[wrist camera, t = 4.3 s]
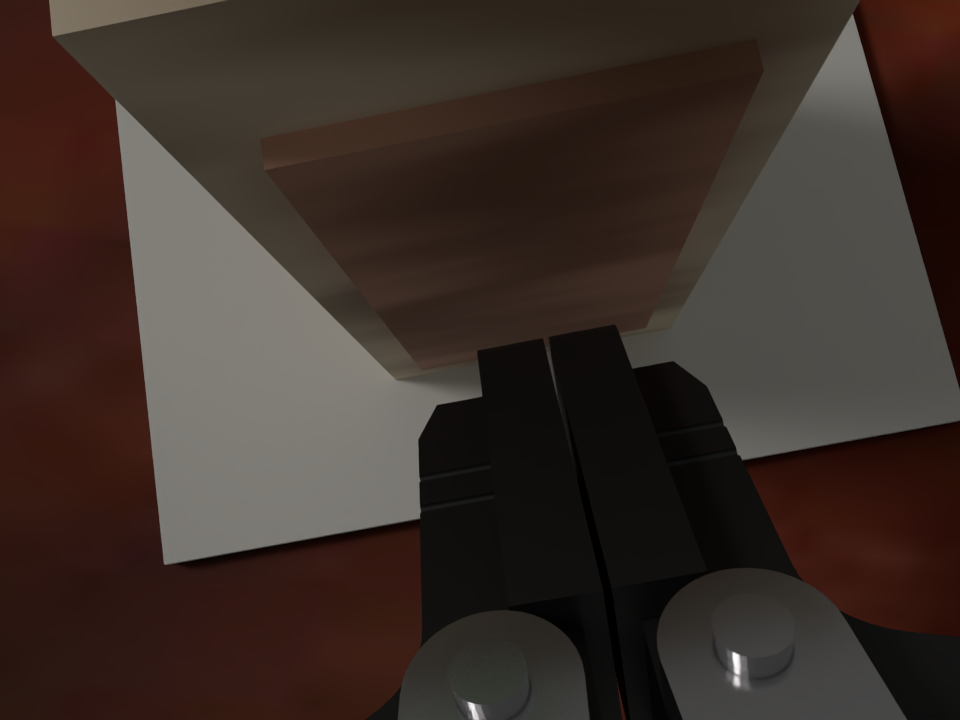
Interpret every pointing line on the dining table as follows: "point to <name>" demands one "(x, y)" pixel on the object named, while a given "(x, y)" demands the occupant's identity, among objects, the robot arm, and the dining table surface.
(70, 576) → the dining table surface
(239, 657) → the dining table surface
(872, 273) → the grey mat
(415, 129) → the maple block
